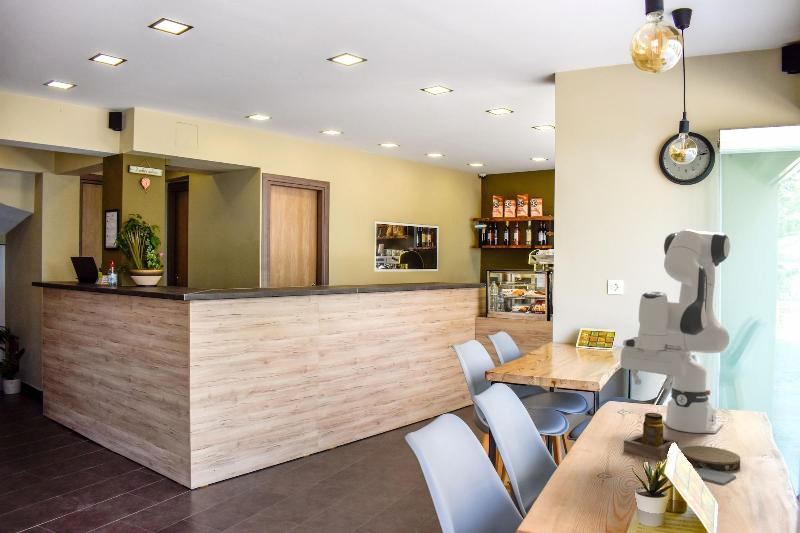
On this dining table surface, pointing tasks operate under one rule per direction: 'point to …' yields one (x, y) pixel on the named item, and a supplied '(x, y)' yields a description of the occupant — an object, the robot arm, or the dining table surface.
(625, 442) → the holder
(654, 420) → the condiment
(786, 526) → the dining table surface
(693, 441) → the dining table surface
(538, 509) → the dining table surface
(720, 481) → the coaster
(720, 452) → the round cork trivet
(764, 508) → the dining table surface
